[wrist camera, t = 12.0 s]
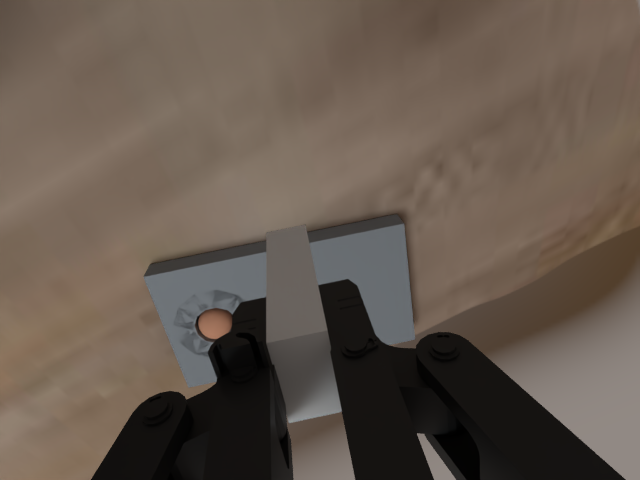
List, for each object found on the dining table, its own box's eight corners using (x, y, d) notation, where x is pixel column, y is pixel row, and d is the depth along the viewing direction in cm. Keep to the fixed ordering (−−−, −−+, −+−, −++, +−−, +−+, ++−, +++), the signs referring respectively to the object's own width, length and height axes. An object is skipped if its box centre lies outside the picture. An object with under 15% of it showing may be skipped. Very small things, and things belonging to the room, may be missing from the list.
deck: (192, 371, 49) (188, 387, 46) (150, 264, 43) (143, 277, 40) (408, 325, 49) (414, 339, 47) (396, 213, 43) (404, 223, 41)
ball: (243, 329, 45) (221, 331, 47) (233, 298, 44) (211, 301, 46) (220, 344, 42) (197, 345, 44) (209, 311, 42) (186, 314, 44)
